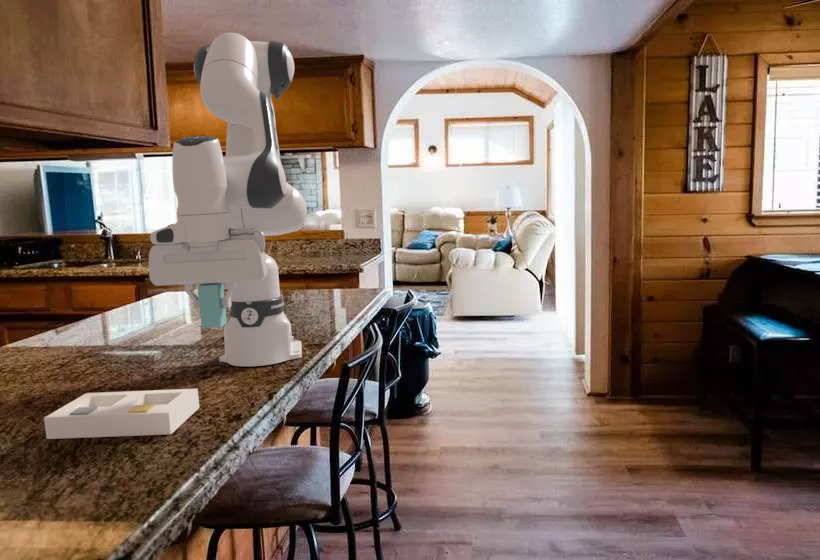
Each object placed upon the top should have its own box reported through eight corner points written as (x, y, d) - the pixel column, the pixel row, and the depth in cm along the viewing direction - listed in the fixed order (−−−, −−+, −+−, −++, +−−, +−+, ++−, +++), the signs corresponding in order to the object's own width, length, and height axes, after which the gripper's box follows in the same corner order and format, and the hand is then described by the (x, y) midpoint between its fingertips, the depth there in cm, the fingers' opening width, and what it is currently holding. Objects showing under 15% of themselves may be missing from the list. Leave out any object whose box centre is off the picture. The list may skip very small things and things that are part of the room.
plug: (208, 323, 120) (204, 282, 119) (226, 322, 120) (222, 282, 119) (201, 328, 117) (197, 285, 115) (220, 327, 116) (216, 285, 115)
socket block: (88, 412, 118) (86, 391, 117) (199, 407, 117) (197, 386, 117) (46, 439, 105) (43, 415, 105) (170, 434, 104) (168, 411, 104)
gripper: (268, 226, 118) (274, 302, 120) (155, 231, 119) (164, 306, 121) (259, 228, 112) (266, 309, 114) (140, 234, 113) (149, 314, 115)
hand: (212, 308), depth 118 cm, fingers closed on plug, 3 cm apart
